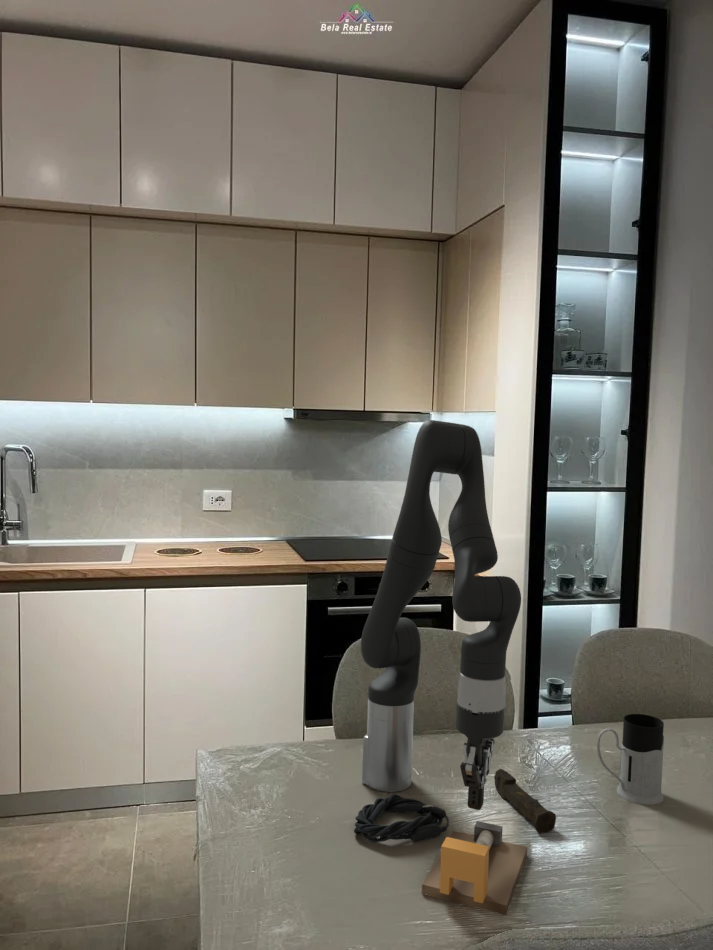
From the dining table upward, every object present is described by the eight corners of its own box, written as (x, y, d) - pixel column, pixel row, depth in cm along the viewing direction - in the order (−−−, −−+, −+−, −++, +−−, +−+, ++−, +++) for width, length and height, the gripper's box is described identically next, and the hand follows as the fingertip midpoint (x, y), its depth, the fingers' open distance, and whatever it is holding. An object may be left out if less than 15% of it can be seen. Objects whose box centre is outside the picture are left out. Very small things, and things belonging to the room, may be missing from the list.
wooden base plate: (421, 893, 122) (422, 867, 122) (452, 838, 139) (452, 815, 138) (505, 915, 117) (507, 888, 117) (526, 855, 134) (527, 831, 134)
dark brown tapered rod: (556, 833, 142) (557, 807, 142) (536, 835, 141) (537, 810, 141) (507, 786, 160) (508, 764, 160) (489, 788, 159) (490, 766, 159)
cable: (369, 857, 133) (369, 832, 132) (335, 818, 145) (336, 795, 145) (456, 837, 140) (457, 813, 140) (417, 802, 153) (418, 780, 152)
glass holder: (672, 803, 155) (676, 727, 154) (606, 808, 152) (609, 731, 151) (647, 783, 163) (650, 711, 162) (583, 787, 160) (587, 715, 159)
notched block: (439, 892, 119) (441, 846, 119) (445, 882, 122) (446, 836, 122) (482, 903, 117) (484, 856, 116) (487, 892, 120) (489, 846, 119)
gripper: (468, 684, 133) (462, 784, 134) (446, 710, 120) (440, 820, 122) (513, 692, 130) (507, 794, 131) (495, 720, 118) (489, 832, 119)
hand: (475, 807), depth 126 cm, fingers closed
